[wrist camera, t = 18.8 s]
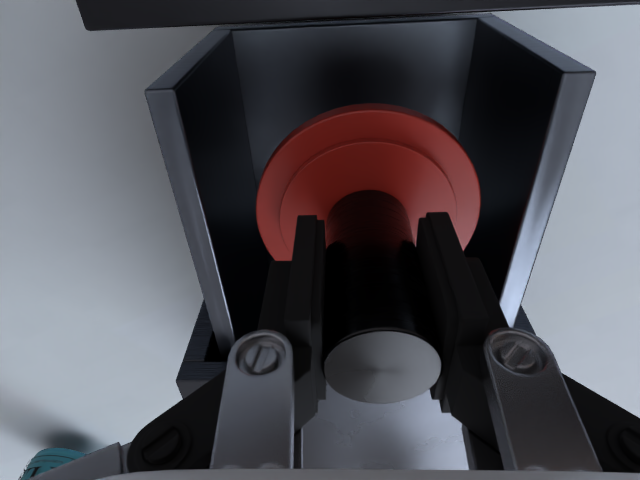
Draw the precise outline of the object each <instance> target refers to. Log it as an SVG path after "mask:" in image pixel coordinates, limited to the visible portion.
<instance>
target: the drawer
mask: <svg viewBox="0 0 640 480" xmlns="http://www.w3.org/2000/svg"><path fill="white" fill-rule="evenodd" d="M76 2H77V5H78V8H79V11H80V14H81V17H82V20H83V23H84V26H85V28H86V30H88V31H101V30H121V29H142V28H163V27H183V26H204V25H224V24H245V23H266V22H286V21H307V20H327V19H348V18H369V17H389V16H410V15H430V14H451V13H472V12H492V11H513V10H534V9H554V8H575V7H595V6H616V5H637V4H640V0H76ZM595 76H596V71H594V70H592V69H591V68H589V67H587V66H585V65H583V64H582V63H580V62H578V61H576V60H574V59H573V58H571V57H569V56H567V55H565V54H564V53H562V52H560V51H558V50H556V49H555V48H553V47H551V46H549V45H547V44H545V43H544V42H542V41H540V40H538V39H536V38H535V37H533V36H531V35H529V34H527V33H526V32H524V31H522V30H520V29H518V28H517V27H515V26H513V25H511V24H509V23H508V22H506V21H504V20H502V19H500V18H499V17H496V16H495V15H493V14H491V13H490V14H469V15H448V16H428V17H407V18H386V19H366V20H345V21H324V22H303V23H283V24H262V25H241V26H221V27H216V28H215V29H214V30H213V31H212V32H210V33H209V34H208V35H207V36H206V37H205V38H204V39H202V40H201V41H200V42H199V43H198V44H197V45H196V46H194V47H193V48H192V49H191V50H190V51H189V52H188V53H186V54H185V55H184V56H183V57H182V58H181V59H180V60H178V61H177V62H176V63H175V64H174V65H173V66H172V67H171V68H169V69H168V70H167V71H166V72H165V73H164V74H163V75H161V76H160V77H159V78H158V79H157V80H156V81H155V82H153V83H152V84H151V85H150V86H149V87H148V88H147V89H145V96H146V100H147V103H148V106H149V110H150V113H151V117H152V120H153V124H154V127H155V131H156V134H157V138H158V141H159V144H160V148H161V151H162V155H163V158H164V162H165V165H166V169H167V172H168V176H169V179H170V182H171V186H172V189H173V193H174V196H175V200H176V203H177V207H178V210H179V214H180V217H181V221H182V224H183V227H184V231H185V234H186V238H187V241H188V245H189V248H190V252H191V255H192V259H193V262H194V265H195V269H196V272H197V276H198V279H199V283H200V286H201V290H202V293H203V297H204V300H205V303H206V307H207V310H208V314H209V317H210V321H211V324H212V328H213V331H214V335H215V338H216V341H217V345H218V348H219V352H220V355H221V359H222V361H228V356H229V353H230V351H231V348H232V346H233V345H234V344H235V343H236V341H237V340H239V339H240V338H241V337H242V336H244V335H246V334H248V333H250V332H253V331H257V329H258V323H259V318H260V313H261V308H262V303H263V298H264V292H265V287H266V282H267V277H268V272H269V267H270V263H271V261H275V260H274V258H273V257H272V256H271V254H270V253H269V251H268V250H267V248H266V246H265V244H264V242H263V240H262V237H261V235H260V232H259V229H258V224H257V220H256V196H257V191H258V187H259V183H260V179H261V176H262V174H263V171H264V169H265V166H266V164H267V162H268V160H269V159H270V157H271V155H272V153H273V152H274V151H275V149H276V148H277V147H278V146H279V144H280V143H281V142H282V141H283V140H284V139H285V138H286V137H287V136H288V135H289V134H290V133H291V132H292V131H293V130H295V129H296V128H298V127H299V126H300V125H302V124H303V123H305V122H306V121H308V120H310V119H312V118H314V117H316V116H317V115H319V114H322V113H325V112H327V111H330V110H333V109H335V108H340V107H344V106H348V105H354V104H364V103H381V104H390V105H396V106H402V107H405V108H408V109H411V110H415V111H417V112H420V113H422V114H424V115H426V116H428V117H430V118H432V119H433V120H435V121H436V122H438V123H440V124H441V125H443V126H444V127H445V128H446V129H447V130H448V131H449V132H451V133H452V134H453V135H454V136H455V137H456V139H457V140H458V141H459V142H460V144H461V145H462V146H463V148H464V149H465V151H466V153H467V155H468V156H469V158H470V160H471V162H472V163H473V165H474V168H475V170H476V173H477V176H478V179H479V185H480V190H481V207H480V214H479V218H478V222H477V225H476V229H475V231H474V233H473V235H472V238H471V240H470V241H469V243H468V245H467V246H466V248H465V249H464V251H463V252H464V255H465V257H477V258H479V259H480V261H481V262H482V265H483V267H484V269H485V272H486V274H487V276H488V278H489V281H490V283H491V285H492V288H493V290H494V292H495V295H496V297H497V299H498V302H499V304H500V306H501V309H502V311H503V313H504V316H505V318H506V320H507V323H508V325H509V327H512V328H513V327H514V324H515V321H516V318H517V315H518V312H519V309H520V306H521V302H522V299H523V296H524V293H525V290H526V287H527V284H528V281H529V278H530V275H531V272H532V269H533V266H534V263H535V260H536V256H537V253H538V250H539V247H540V244H541V241H542V238H543V235H544V232H545V229H546V226H547V223H548V220H549V217H550V214H551V211H552V207H553V204H554V201H555V198H556V195H557V192H558V189H559V186H560V183H561V180H562V177H563V174H564V171H565V168H566V165H567V161H568V158H569V155H570V152H571V149H572V146H573V143H574V140H575V137H576V134H577V131H578V128H579V125H580V122H581V119H582V115H583V112H584V109H585V106H586V103H587V100H588V97H589V94H590V91H591V88H592V85H593V82H594V79H595Z"/></svg>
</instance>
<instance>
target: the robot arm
mask: <svg viewBox="0 0 640 480" xmlns="http://www.w3.org/2000/svg"><path fill="white" fill-rule="evenodd" d="M416 250H417V254H418V258H419V262H420V266H421V270H422V274H423V278H424V282H425V286H426V290H427V294H428V298H429V302H430V306H431V310H432V314H433V318H434V322H435V326H436V331H437V335H438V339H439V343H440V347H441V351H442V355H443V360H444V366H443V370H442V374H441V376H440V378H439V379H438V381H437V382H436V383H435V384H434V385H433V386H432V387H431V388H430V394H431V398H432V400H439V403H440V407H441V412H442V413H451V416H453V417H454V418H455V419H457V420H458V421H459V422H460V423H462V434H463V440H464V445H465V451H466V456H467V462H468V467H469V470H387V469H303V426H304V425H305V424H306V423H307V422H308V421H309V420H311V419H312V418H313V417H314V416H315V413H318V400H326V382H327V381H326V380H325V378H324V375H323V373H322V358H323V333H324V300H325V267H326V239H325V221H324V220H317V215H298V217H297V223H296V231H295V239H294V246H293V254H292V261H271V263H270V267H269V272H268V277H267V282H266V287H265V292H264V298H263V303H262V308H261V313H260V318H259V323H258V329H257V331H253V332H250V333H248V334H246V335H244V336H242V337H241V338H240V339H239V340H237V341H236V343H235V344H234V345H233V346H232V348H231V351H230V353H229V356H228V362H227V368H226V369H225V370H224V371H222V372H221V373H219V374H218V375H217V376H215V377H214V378H212V379H211V380H210V381H208V382H207V383H205V384H204V385H202V386H201V387H200V388H198V389H197V390H195V391H194V392H193V393H191V394H190V395H188V396H187V397H185V398H184V399H183V400H181V401H180V402H178V403H177V404H176V405H174V406H173V407H171V408H170V409H169V410H167V411H166V412H164V413H163V414H161V415H160V416H159V417H157V418H156V419H154V420H153V421H152V422H150V423H149V424H147V425H146V426H145V427H144V428H143V429H142V430H141V431H140V432H139V433H138V434H137V435H136V437H135V438H134V440H133V441H132V442H130V443H128V444H125V445H123V446H121V445H120V443H119V442H117V443H115V444H112V445H110V446H107V447H105V448H103V449H100V450H98V451H95V452H93V453H90V454H88V455H85V456H83V457H80V458H78V459H75V460H73V461H70V462H68V463H65V464H63V465H61V466H58V467H56V468H53V469H51V470H48V471H46V472H43V473H41V474H38V475H36V476H33V477H31V478H28V479H26V480H640V418H638V417H637V416H635V415H633V414H631V413H630V412H628V411H626V410H625V409H623V408H621V407H619V406H618V405H616V404H614V403H613V402H611V401H609V400H607V399H606V398H604V397H602V396H600V395H599V394H597V393H595V392H594V391H592V390H590V389H588V388H587V387H585V386H583V385H582V384H580V383H578V382H576V381H575V380H573V379H571V378H569V377H568V376H566V375H564V374H563V373H561V371H560V369H559V366H558V364H557V362H556V359H555V357H554V354H553V353H552V351H551V349H550V348H549V346H548V345H547V344H546V343H545V342H544V341H543V340H542V339H541V338H539V337H537V336H536V335H534V334H532V333H531V332H528V331H525V330H522V329H519V328H512V327H509V325H508V323H507V320H506V318H505V316H504V313H503V311H502V309H501V306H500V304H499V302H498V299H497V297H496V295H495V292H494V290H493V288H492V285H491V283H490V281H489V278H488V276H487V274H486V272H485V269H484V267H483V265H482V262H481V261H480V259H479V258H477V257H465V255H464V252H463V249H462V247H461V244H460V242H459V239H458V236H457V234H456V231H455V229H454V226H453V224H452V221H451V218H450V216H449V214H448V212H427V213H426V217H421V218H419V221H418V230H417V239H416Z"/></svg>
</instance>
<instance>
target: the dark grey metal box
mask: <svg viewBox="0 0 640 480" xmlns="http://www.w3.org/2000/svg"><path fill="white" fill-rule="evenodd" d="M513 328H519V329H522V330H525V331H528V332H531V333H532V334H534V335H536V334H535V332H534V330H533V328H532V326H531V324H530V322H529V320H528V318H527V316H526V314H525V312H524V310H523V308H522V306H520V309H519V312H518V315H517V318H516V321H515V324H514V327H513ZM227 362H228V361H222V359H221V355H220V352H219V348H218V345H217V341H216V338H215V335H214V331H213V328H212V324H211V321H210V317H209V314H208V310H207V307H206V303H205V300H203V303H202V306H201V309H200V312H199V315H198V318H197V321H196V324H195V327H194V329H193V332H192V335H191V338H190V341H189V344H188V347H187V350H186V353H185V356H184V359H183V362H182V364H181V367H180V370H179V373H178V376H177V379H176V383H177V386H178V388H179V391H180V393H181V395H182V398H183V399H184V398H185V397H187V396H188V395H190V394H191V393H193V392H194V391H195V390H197V389H198V388H200V387H201V386H202V385H204V384H205V383H207V382H208V381H210V380H211V379H212V378H214V377H215V376H217V375H218V374H219V373H221V372H222V371H224V370H225V369H226V368H227ZM303 469H387V470H469V467H468V462H467V456H466V451H465V445H464V440H463V434H462V423H460V422H459V421H458V420H457V419H455V418H454V417H453V416H451V413H442V412H441V407H440V403H439V400H432V398H431V394H430V389H429V390H427V391H426V392H424V393H423V394H421V395H419V396H417V397H414V398H412V399H409V400H405V401H402V402H396V403H389V404H371V403H364V402H359V401H355V400H352V399H349V398H347V397H345V396H343V395H341V394H339V393H338V392H336V391H335V390H334V389H333V388H331V387H330V385H329V384H328V383H327V382H326V400H318V413H315V416H314V417H313V418H312V419H311V420H309V421H308V422H307V423H306V424H305V425H304V426H303Z"/></svg>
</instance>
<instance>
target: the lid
mask: <svg viewBox="0 0 640 480" xmlns="http://www.w3.org/2000/svg"><path fill="white" fill-rule="evenodd" d="M480 207H481V190H480V185H479V179H478V176H477V173H476V170H475V168H474V165H473V163H472V162H471V160H470V158H469V156H468V155H467V153H466V151H465V149H464V148H463V146H462V145H461V144H460V142H459V141H458V140H457V139H456V137H455V136H454V135H453V134H452V133H451V132H449V131H448V130H447V129H446V128H445V127H444V126H443V125H441V124H440V123H438V122H436V121H435V120H433V119H432V118H430V117H428V116H426V115H424V114H422V113H420V112H417V111H415V110H411V109H408V108H405V107H402V106H396V105H390V104H381V103H364V104H354V105H348V106H344V107H340V108H335V109H333V110H330V111H327V112H325V113H322V114H319V115H317V116H316V117H314V118H312V119H310V120H308V121H306V122H305V123H303V124H302V125H300V126H299V127H298V128H296V129H295V130H293V131H292V132H291V133H290V134H289V135H288V136H287V137H286V138H285V139H284V140H283V141H282V142H281V143H280V144H279V146H278V147H277V148H276V149H275V151H274V152H273V153H272V155H271V157H270V159H269V160H268V162H267V164H266V166H265V169H264V171H263V174H262V176H261V179H260V183H259V187H258V191H257V196H256V220H257V224H258V229H259V232H260V235H261V237H262V240H263V242H264V244H265V246H266V248H267V250H268V251H269V253H270V254H271V256H272V257H273V258H274V260H275V261H292V254H293V246H294V239H295V231H296V223H297V217H298V215H317V220H324V221H325V239H326V267H325V300H324V333H323V358H322V373H323V375H324V378H325V380H326V381H327V383H328V384H329V385H330V387H331V388H333V389H334V390H335V391H336V392H338V393H339V394H341V395H343V396H345V397H347V398H349V399H352V400H355V401H359V402H364V403H371V404H389V403H396V402H402V401H405V400H409V399H412V398H414V397H417V396H419V395H421V394H423V393H424V392H426V391H427V390H429V389H430V388H431V387H432V386H433V385H434V384H435V383H436V382H437V381H438V379H439V378H440V376H441V374H442V370H443V366H444V360H443V355H442V351H441V347H440V343H439V339H438V335H437V331H436V326H435V322H434V318H433V314H432V310H431V306H430V302H429V298H428V294H427V290H426V286H425V282H424V278H423V274H422V270H421V266H420V262H419V258H418V254H417V250H416V239H417V230H418V221H419V218H421V217H426V213H427V212H448V214H449V216H450V218H451V221H452V224H453V226H454V229H455V231H456V234H457V236H458V239H459V242H460V244H461V247H462V249H463V251H464V249H465V248H466V246H467V245H468V243H469V241H470V240H471V238H472V235H473V233H474V231H475V229H476V225H477V222H478V218H479V214H480Z"/></svg>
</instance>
